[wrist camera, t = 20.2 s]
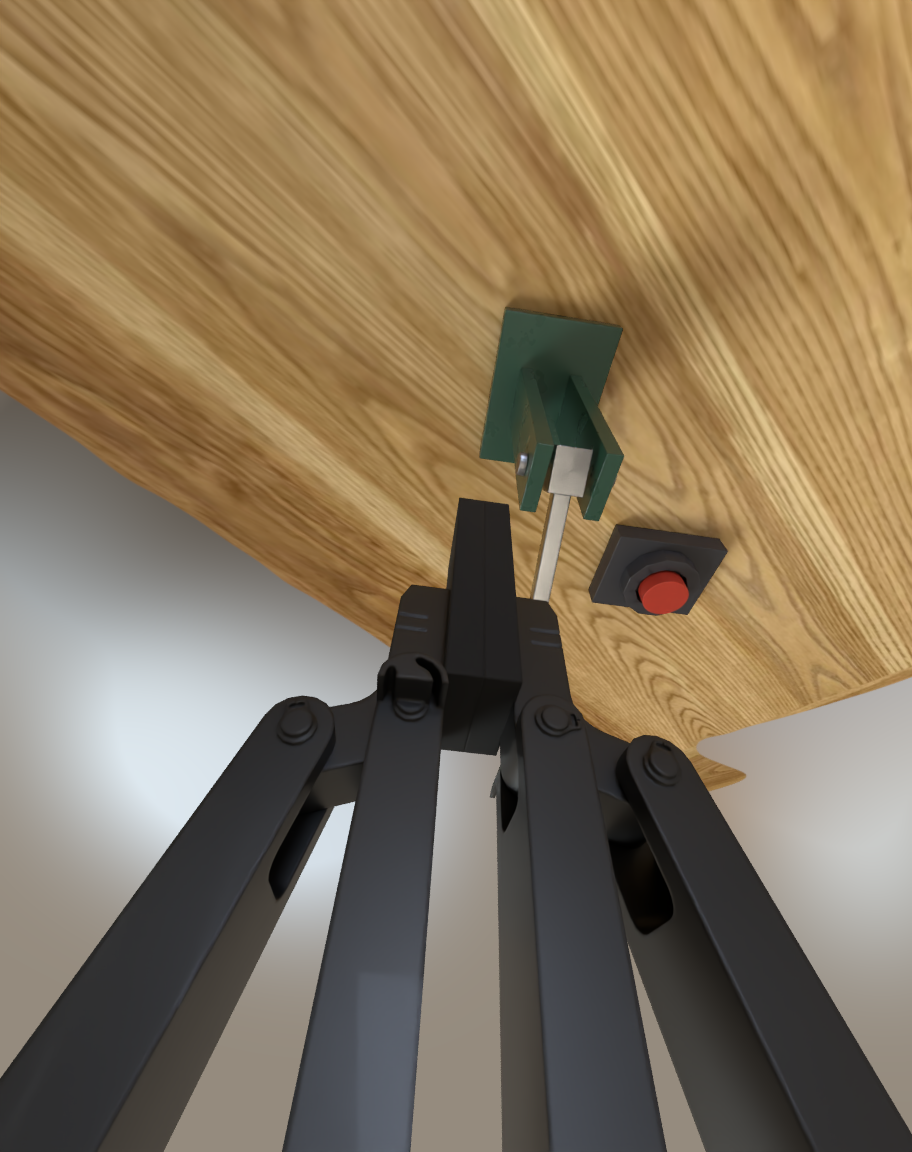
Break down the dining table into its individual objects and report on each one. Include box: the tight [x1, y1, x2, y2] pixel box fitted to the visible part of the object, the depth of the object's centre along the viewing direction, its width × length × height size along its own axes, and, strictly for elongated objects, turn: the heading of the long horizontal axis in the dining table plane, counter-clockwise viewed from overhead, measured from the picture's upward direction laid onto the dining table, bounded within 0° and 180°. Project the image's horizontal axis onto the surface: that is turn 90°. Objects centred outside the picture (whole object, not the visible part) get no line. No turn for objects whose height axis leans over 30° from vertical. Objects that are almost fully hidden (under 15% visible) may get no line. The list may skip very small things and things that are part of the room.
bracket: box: [480, 307, 624, 521], centre depth 33 cm, size 12×9×16 cm
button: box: [638, 571, 689, 614], centre depth 47 cm, size 4×4×2 cm
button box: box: [589, 525, 728, 616], centre depth 49 cm, size 11×9×4 cm
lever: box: [530, 445, 593, 604], centre depth 30 cm, size 17×4×4 cm, turn 173°
